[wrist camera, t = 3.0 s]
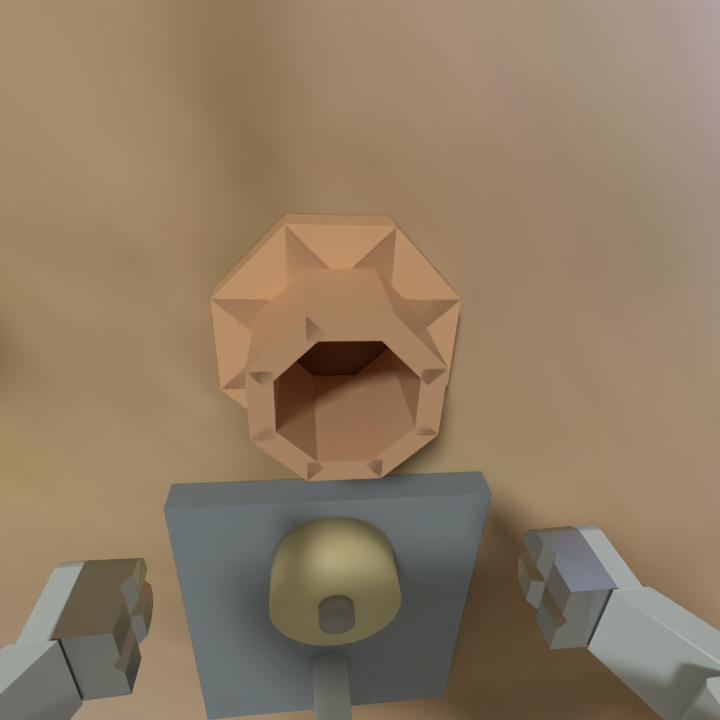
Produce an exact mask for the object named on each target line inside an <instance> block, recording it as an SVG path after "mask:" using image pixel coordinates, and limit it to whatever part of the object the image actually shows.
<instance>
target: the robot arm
mask: <svg viewBox="0 0 720 720" xmlns="http://www.w3.org/2000/svg"><path fill="white" fill-rule="evenodd" d="M524 544H525V546H526V547H527V550H526V551H524V552H523V553H522V554H521V555H520V556H519V560H518V565H517V573H518V581H519V584H520V588H521V591H522V593H523V595H524V597H525V599H526V601H527V602H529V603H530V604H531V605H532V606H534V607H535V608H536V609H537V613H536V618H535V620H536V622H537V625H538V627H539V629H540V631H541V633H542V635H543V637H544V639H545V641H546V643H547V645H548V647H549V649H550V650H551V649H564V648H577V647H588V650H589V651H590V652H591V653H593V654H594V655H595V656H596V657H597V658H598V659H599V660H600V661H601V662H602V663H603V664H604V665H605V666H607V667H608V668H609V669H610V670H611V671H612V672H613V673H614V674H615V675H616V676H617V677H618V678H619V679H620V680H622V681H623V682H624V683H625V684H626V685H627V686H628V687H629V688H630V689H631V690H632V691H633V692H634V693H636V694H637V695H638V696H639V697H640V698H641V699H642V700H643V701H644V702H645V703H646V704H647V705H648V706H649V707H651V708H652V709H653V710H654V711H655V712H656V713H657V714H658V715H659V716H660V717H661V718H662V719H663V720H720V631H719V630H717V629H715V628H714V627H712V626H711V625H709V624H708V623H706V622H704V621H703V620H701V619H700V618H698V617H697V616H695V615H693V614H692V613H690V612H689V611H687V610H686V609H684V608H682V607H681V606H679V605H678V604H676V603H675V602H673V601H671V600H670V599H668V598H667V597H665V596H664V595H662V594H660V593H659V592H657V591H656V590H654V589H653V588H651V587H643V586H642V585H641V583H640V582H639V581H638V579H637V578H636V577H635V575H634V574H633V573H632V571H631V570H630V569H629V567H628V566H627V565H626V563H625V562H624V561H623V559H622V558H621V556H620V555H619V554H618V552H617V551H616V550H615V548H614V547H613V546H612V544H611V543H610V542H609V540H608V539H607V538H606V536H605V535H604V534H603V532H602V531H601V530H600V528H598V527H597V526H595V525H584V526H572V527H570V526H566V527H555V528H543V529H531V530H529V531H528V532H527V533H526V535H525V539H524ZM146 572H147V567H146V564H145V560H144V558H130V559H108V560H88V561H72V562H61V563H60V564H59V565H58V566H57V567H56V568H55V569H54V570H53V572H52V574H51V576H50V578H49V580H48V582H47V583H46V585H45V587H44V589H43V591H42V593H41V595H40V597H39V599H38V601H37V603H36V605H35V607H34V609H33V611H32V613H31V615H30V617H29V619H28V620H27V622H26V624H25V626H24V628H23V630H22V632H21V634H20V636H19V638H18V640H17V642H16V644H9V645H6V646H5V647H3V648H2V649H1V650H0V720H70V719H71V718H72V716H73V715H74V714H75V713H76V712H77V710H78V709H79V708H80V707H81V705H82V701H85V700H92V699H100V698H107V697H115V696H122V695H129V694H132V690H133V686H134V683H135V679H136V676H137V672H138V668H139V665H140V661H141V655H140V651H139V647H138V645H139V643H140V642H141V641H142V640H143V639H144V638H145V637H146V636H147V635H148V631H149V627H150V623H151V618H152V609H153V593H152V589H151V585H150V584H149V583H147V582H146V581H145V580H144V579H145V575H146Z"/></svg>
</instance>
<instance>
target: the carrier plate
mask: <svg viewBox="0 0 720 720" xmlns="http://www.w3.org/2000/svg"><path fill="white" fill-rule="evenodd" d="M491 494H492V493H491V491H490V489H489V487H488V484H487V482H486V480H485V478H484V476H483V474H482V472H464V473H440V474H416V475H392V476H383V477H382V478H371V479H348V480H324V481H306V480H305V479H297V480H274V481H250V482H226V483H202V484H179V485H171V489H170V492H169V495H168V498H167V501H166V504H165V507H164V512H165V517H166V522H167V527H168V531H169V536H170V541H171V546H172V550H173V555H174V560H175V565H176V570H177V574H178V579H179V584H180V589H181V593H182V598H183V603H184V608H185V613H186V617H187V622H188V627H189V632H190V636H191V641H192V646H193V651H194V656H195V660H196V665H197V670H198V675H199V679H200V684H201V689H202V694H203V699H204V703H205V708H206V713H207V718H208V719H217V718H228V717H238V716H248V715H258V714H269V713H279V712H289V711H299V710H309V709H314V720H352V715H351V705H360V704H371V703H381V702H391V701H401V700H411V699H422V698H432V697H442V696H443V695H444V691H445V687H446V682H447V678H448V674H449V670H450V666H451V661H452V657H453V653H454V649H455V645H456V641H457V636H458V632H459V628H460V624H461V620H462V616H463V611H464V607H465V603H466V599H467V595H468V590H469V586H470V582H471V578H472V574H473V570H474V565H475V561H476V557H477V553H478V549H479V545H480V540H481V536H482V532H483V528H484V524H485V519H486V515H487V511H488V507H489V503H490V499H491Z"/></svg>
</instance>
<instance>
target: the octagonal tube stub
mask: <svg viewBox="0 0 720 720" xmlns="http://www.w3.org/2000/svg"><path fill="white" fill-rule="evenodd" d="M460 303H461V299H460V297H459V296H458V295H457V294H456V292H455V291H454V290H453V288H452V287H451V286H450V285H449V283H448V282H447V281H446V280H445V279H444V278H443V277H442V275H441V274H440V273H439V272H438V271H437V270H436V269H435V267H434V266H433V265H432V264H431V263H430V262H429V261H428V259H427V258H426V257H425V256H424V255H423V254H422V253H421V251H420V250H419V249H418V248H417V247H416V246H415V245H414V243H413V242H412V241H411V240H410V239H409V238H408V237H407V236H406V234H405V233H404V232H403V231H402V230H401V229H400V228H399V226H398V225H397V224H396V223H395V222H394V221H393V220H392V218H391V217H390V216H359V215H314V214H285V215H284V216H283V217H282V218H281V220H280V221H279V222H278V223H277V224H276V225H275V226H274V227H273V228H272V229H271V230H270V231H269V232H268V233H267V234H266V235H265V236H264V237H263V238H262V239H261V240H260V241H259V242H258V243H257V244H256V245H255V246H254V247H253V248H252V249H251V250H250V251H249V252H248V253H247V254H246V255H245V256H244V257H243V258H242V259H241V260H240V261H239V262H238V263H237V264H236V265H235V266H234V267H233V268H232V269H231V270H230V271H229V272H228V273H227V274H226V275H225V276H224V278H223V279H222V280H221V281H220V282H219V283H218V284H217V285H216V288H215V290H214V292H213V295H212V297H211V307H212V316H213V325H214V334H215V343H216V352H217V361H218V370H219V379H220V388H221V390H222V391H223V392H225V393H226V394H227V395H229V396H230V397H231V398H233V399H234V400H235V401H237V402H238V403H240V404H241V405H242V406H244V407H245V408H246V409H247V410H248V422H249V434H250V441H251V442H252V443H254V444H255V445H256V446H258V447H259V448H261V449H262V450H264V451H265V452H266V453H268V454H269V455H271V456H272V457H274V458H275V459H276V460H278V461H279V462H281V463H282V464H284V465H285V466H286V467H288V468H289V469H291V470H292V471H294V472H295V473H296V474H298V475H299V476H301V477H302V478H304V479H305V480H306V481H324V480H348V479H371V478H382V477H383V476H385V475H386V474H387V473H389V472H390V471H391V470H393V469H394V468H395V467H397V466H398V465H399V464H400V463H402V462H403V461H404V460H406V459H407V458H408V457H410V456H411V455H412V454H414V453H415V452H416V451H418V450H419V449H420V448H422V447H423V446H424V445H426V444H427V443H428V442H430V441H431V440H432V439H434V438H435V437H436V436H437V435H438V433H439V427H440V420H441V414H442V407H443V401H444V394H445V388H446V386H447V385H448V380H449V373H450V367H451V361H452V354H453V348H454V341H455V335H456V329H457V322H458V316H459V310H460ZM318 341H383V342H384V343H385V344H386V345H387V346H388V348H387V349H386V350H385V351H384V352H382V353H381V354H380V355H379V356H378V357H376V358H375V359H374V360H373V361H372V362H371V363H369V364H368V365H367V366H366V367H365V368H363V369H362V370H361V371H360V372H359V373H358V374H356V375H318V376H313V375H312V374H311V373H310V372H308V371H307V370H306V369H305V368H304V367H302V366H301V365H300V364H299V363H298V362H296V361H297V360H298V359H299V358H300V357H301V356H302V355H303V354H304V353H306V352H307V351H308V350H309V349H310V348H311V347H312V346H313V345H314V344H316V343H317V342H318Z"/></svg>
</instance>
